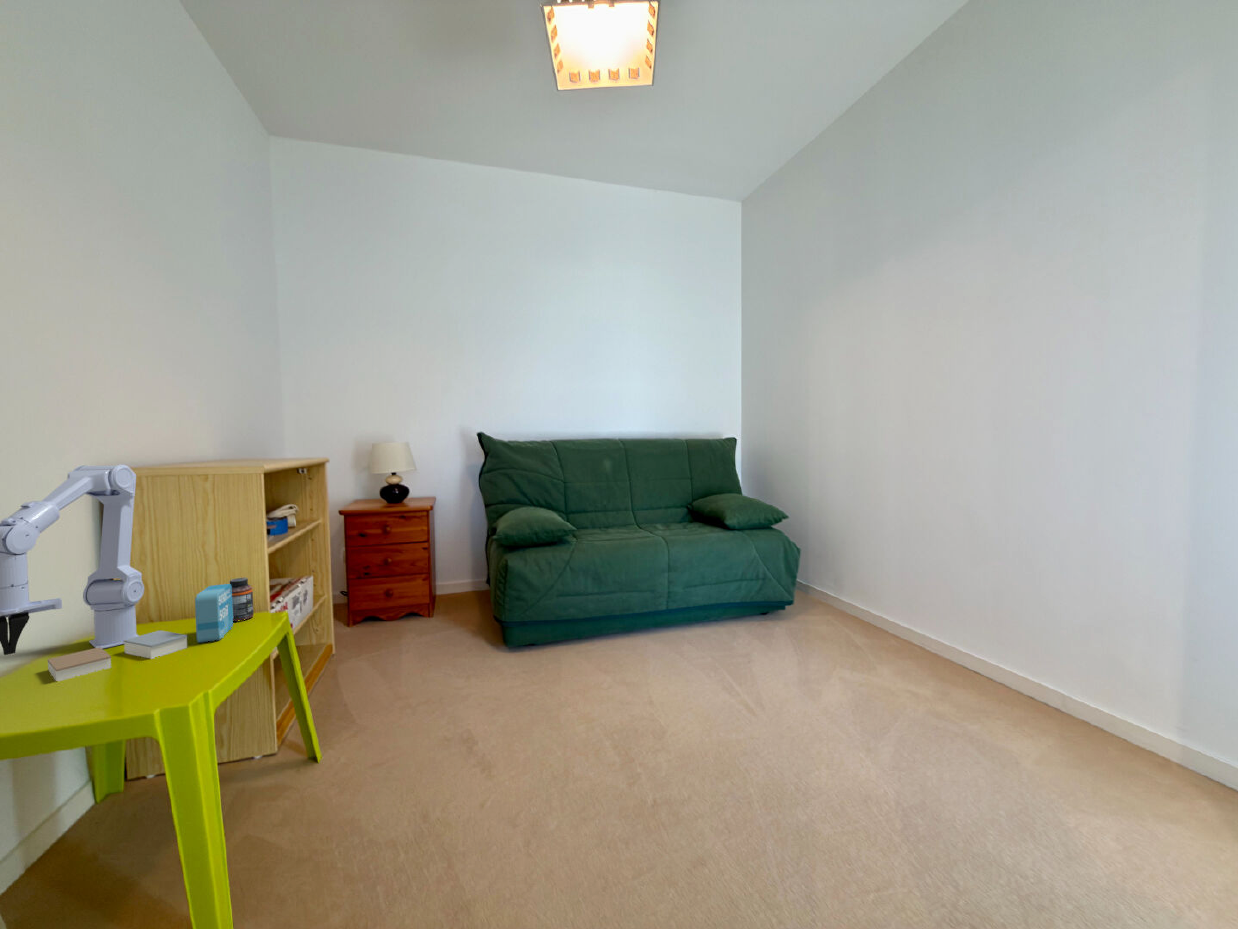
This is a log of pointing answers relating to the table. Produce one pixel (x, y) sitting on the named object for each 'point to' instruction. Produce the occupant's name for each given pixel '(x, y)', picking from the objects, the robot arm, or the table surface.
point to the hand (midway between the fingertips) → (9, 653)
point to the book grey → (155, 644)
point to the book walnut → (78, 663)
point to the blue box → (213, 612)
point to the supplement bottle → (241, 599)
